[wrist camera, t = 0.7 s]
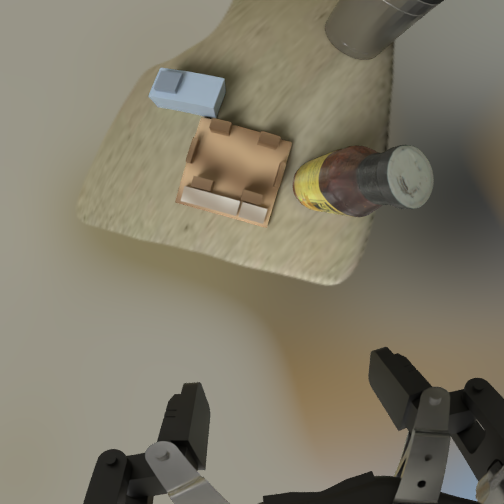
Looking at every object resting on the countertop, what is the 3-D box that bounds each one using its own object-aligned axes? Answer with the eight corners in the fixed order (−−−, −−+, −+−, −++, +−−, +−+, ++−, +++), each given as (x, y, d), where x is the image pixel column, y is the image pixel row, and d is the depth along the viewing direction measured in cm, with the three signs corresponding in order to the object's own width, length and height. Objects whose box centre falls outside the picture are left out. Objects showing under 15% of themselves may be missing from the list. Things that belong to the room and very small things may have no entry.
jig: (202, 119, 31) (198, 111, 27) (290, 144, 32) (296, 138, 29) (176, 202, 33) (170, 202, 29) (265, 227, 34) (268, 230, 30)
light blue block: (168, 81, 29) (158, 64, 24) (225, 92, 30) (224, 75, 25) (158, 107, 30) (145, 93, 25) (216, 119, 31) (212, 105, 26)
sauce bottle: (293, 212, 34) (365, 234, 14) (288, 163, 32) (353, 124, 13) (341, 207, 34) (445, 225, 14) (336, 160, 33) (437, 131, 13)
